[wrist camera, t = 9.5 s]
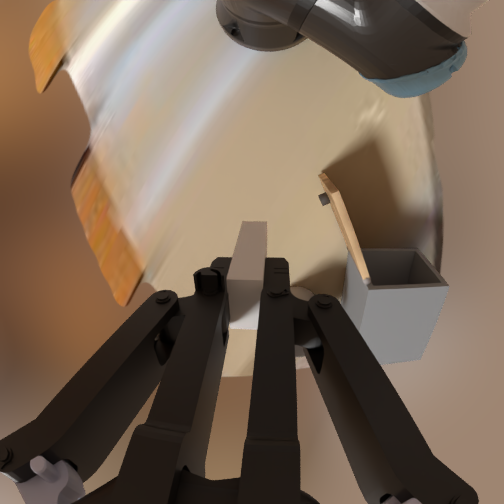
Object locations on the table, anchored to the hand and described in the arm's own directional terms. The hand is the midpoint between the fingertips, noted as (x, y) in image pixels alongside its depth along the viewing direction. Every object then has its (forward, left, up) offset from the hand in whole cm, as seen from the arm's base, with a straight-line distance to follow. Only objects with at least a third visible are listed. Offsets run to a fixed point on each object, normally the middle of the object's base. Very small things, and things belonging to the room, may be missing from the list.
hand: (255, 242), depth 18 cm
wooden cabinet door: (+8, +11, -28) cm, 31 cm away
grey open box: (+22, +21, -29) cm, 42 cm away
